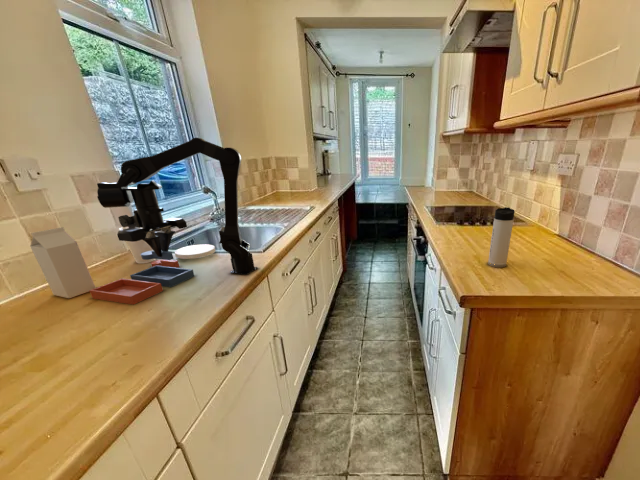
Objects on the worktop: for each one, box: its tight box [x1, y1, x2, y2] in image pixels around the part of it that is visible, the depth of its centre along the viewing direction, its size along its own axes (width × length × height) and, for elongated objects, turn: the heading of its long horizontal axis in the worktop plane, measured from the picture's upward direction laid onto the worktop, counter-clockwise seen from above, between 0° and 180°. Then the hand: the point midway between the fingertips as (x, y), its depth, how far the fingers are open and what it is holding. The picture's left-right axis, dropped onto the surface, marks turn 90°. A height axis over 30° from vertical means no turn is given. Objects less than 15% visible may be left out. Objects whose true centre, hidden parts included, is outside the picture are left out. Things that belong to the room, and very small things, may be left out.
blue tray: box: [129, 265, 195, 288], centre depth 104 cm, size 15×9×2 cm, turn 75°
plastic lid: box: [174, 243, 216, 260], centre depth 126 cm, size 14×14×2 cm
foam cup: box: [118, 226, 157, 264], centre depth 119 cm, size 10×9×13 cm
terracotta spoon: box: [150, 259, 181, 268], centre depth 115 cm, size 11×5×2 cm, turn 75°
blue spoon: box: [141, 250, 175, 260], centre depth 101 cm, size 11×5×2 cm, turn 75°
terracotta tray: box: [89, 277, 164, 305], centre depth 93 cm, size 15×9×2 cm, turn 75°
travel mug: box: [487, 206, 516, 269], centre depth 111 cm, size 6×7×20 cm
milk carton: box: [29, 226, 97, 299], centre depth 91 cm, size 7×7×19 cm
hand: (162, 255), depth 100 cm, fingers closed on blue spoon, 2 cm apart
